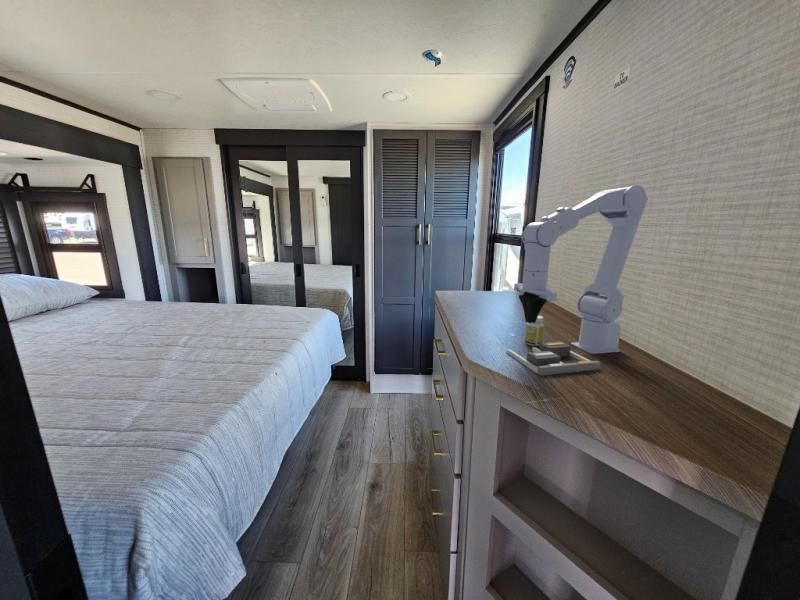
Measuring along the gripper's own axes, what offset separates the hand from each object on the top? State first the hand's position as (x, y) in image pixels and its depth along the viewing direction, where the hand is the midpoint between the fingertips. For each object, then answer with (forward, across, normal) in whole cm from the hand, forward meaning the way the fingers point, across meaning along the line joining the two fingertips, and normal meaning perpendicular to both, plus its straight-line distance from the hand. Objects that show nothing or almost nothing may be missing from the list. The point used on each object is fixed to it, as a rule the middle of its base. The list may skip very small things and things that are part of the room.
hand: (530, 322), depth 81 cm
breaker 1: (+9, +7, 0) cm, 11 cm away
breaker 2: (+9, +1, +8) cm, 12 cm away
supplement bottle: (+10, -8, +8) cm, 15 cm away
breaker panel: (+9, +4, +4) cm, 11 cm away
